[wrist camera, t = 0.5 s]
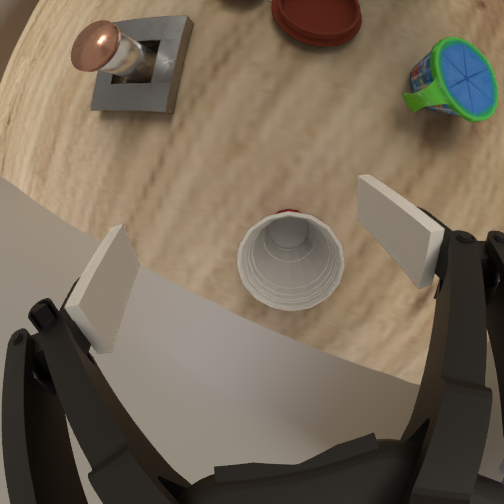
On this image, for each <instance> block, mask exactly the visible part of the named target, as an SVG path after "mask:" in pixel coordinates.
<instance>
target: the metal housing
mask: <svg viewBox="0 0 504 504" xmlns="http://www.w3.org/2000/svg"><path fill="white" fill-rule="evenodd" d="M113 24H115V25H116V26H117V27H118V28H119V30H120V33H122V34H124V35H126V36H128V37H129V38H131V39H133V40H135V41H137V42H138V43H140V44H142V45H144V46H159V49H158V53H157V57H156V62H155V66H154V70H153V75H152V80H151V83H126V84H122V80H123V77H122V76H118V75H115V74H111V73H108V72H104V71H100V70H98V74H97V79H96V84H95V89H94V95H93V101H92V107H91V111H140V112H160V113H174V108H175V103H176V97H177V92H178V87H179V82H180V77H181V73H182V68H183V64H184V59H185V55H186V51H187V47H188V43H189V39H190V35H191V31H192V28H193V24H194V23H193V22H192V20H191V19H190V18H189V17H188V16H164V17H151V18H141V19H133V20H126V21H119V22H113Z"/></svg>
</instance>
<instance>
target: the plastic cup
mask: <svg viewBox="0 0 504 504" xmlns="http://www.w3.org/2000/svg"><path fill="white" fill-rule="evenodd" d="M344 266H345V262H344V255H343V249H342V244H341V243H340V241H339V240H338V238H337V237H336V235H335V234H334V232H333V231H332V229H331V228H330V227H329V226H328V225H326V224H324V223H323V222H321V221H320V220H318V219H317V218H315V217H313V216H312V215H308V214H302V213H301V212H299V211H297V210H292V209H285V210H281V211H278V212H277V213H276V214H274V215H270V216H266V217H265V218H264V219H262V220H261V221H259V222H258V223H257V224H255V225H254V226H252V227H251V228H250V229H249V230H248V232H247V233H246V235H245V237H244V238H243V240H242V242H241V244H240V245H239V250H238V259H237V268H238V271H239V274H240V277H241V280H242V283H243V285H244V286H245V287H246V288H247V290H248V291H249V292H250V293H251V294H252V295H253V297H254V298H255V299H257V300H259V301H260V302H262V303H264V304H266V305H267V306H269V307H271V308H275V309H280V310H286V311H297V310H303V309H308V308H312V307H314V306H315V305H317V304H319V303H321V302H322V301H324V300H326V299H327V298H328V297H329V296H330V295H331V294H332V292H333V291H334V290H335V289H336V287H337V286H338V285H339V284H340V281H341V277H342V273H343V270H344Z"/></svg>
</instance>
